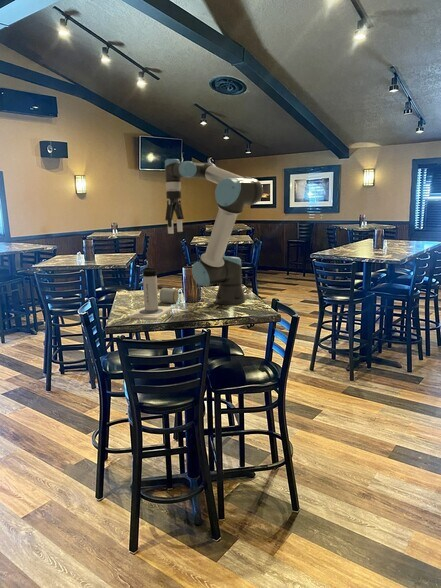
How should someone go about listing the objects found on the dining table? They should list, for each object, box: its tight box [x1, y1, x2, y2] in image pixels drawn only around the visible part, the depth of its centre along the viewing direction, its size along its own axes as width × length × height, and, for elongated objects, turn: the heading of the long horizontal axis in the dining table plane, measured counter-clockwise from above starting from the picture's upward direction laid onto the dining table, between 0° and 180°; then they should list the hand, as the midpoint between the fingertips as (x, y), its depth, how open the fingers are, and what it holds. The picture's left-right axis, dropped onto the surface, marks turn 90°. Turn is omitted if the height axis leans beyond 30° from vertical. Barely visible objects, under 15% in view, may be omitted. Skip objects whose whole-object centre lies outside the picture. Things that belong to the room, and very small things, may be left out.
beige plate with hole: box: [127, 305, 174, 320], centre depth 203 cm, size 14×20×1 cm
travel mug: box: [142, 267, 159, 313], centre depth 201 cm, size 6×7×20 cm
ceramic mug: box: [158, 287, 180, 304], centre depth 224 cm, size 11×8×8 cm
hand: (175, 232), depth 228 cm, fingers open, 13 cm apart
